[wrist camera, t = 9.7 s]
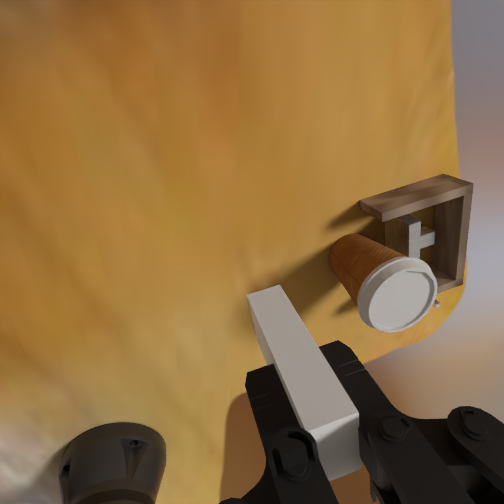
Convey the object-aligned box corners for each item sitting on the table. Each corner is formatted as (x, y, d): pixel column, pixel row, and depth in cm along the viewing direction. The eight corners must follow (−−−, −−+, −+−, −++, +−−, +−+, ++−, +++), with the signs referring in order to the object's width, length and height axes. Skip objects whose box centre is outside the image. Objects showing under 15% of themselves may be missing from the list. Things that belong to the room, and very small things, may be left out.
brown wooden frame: (365, 294, 53) (386, 314, 48) (359, 200, 45) (383, 213, 40) (437, 268, 54) (464, 286, 50) (443, 173, 47) (475, 184, 42)
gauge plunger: (386, 276, 52) (427, 311, 44) (384, 211, 47) (431, 237, 39) (420, 264, 53) (467, 296, 45) (422, 198, 48) (476, 222, 40)
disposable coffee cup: (391, 246, 50) (454, 290, 40) (345, 293, 52) (394, 347, 41) (354, 208, 45) (414, 246, 35) (304, 261, 47) (348, 312, 37)
